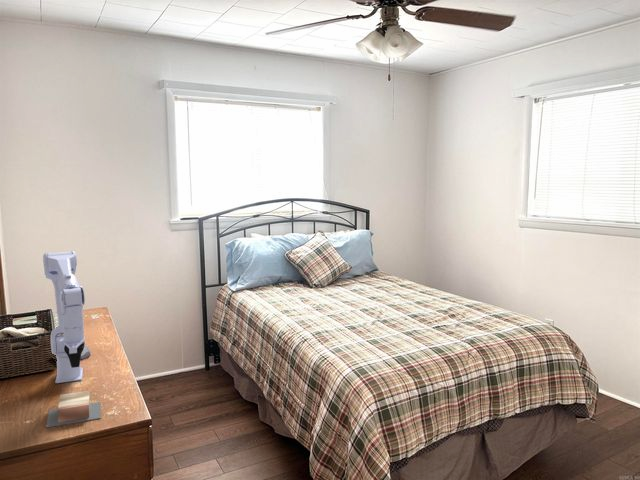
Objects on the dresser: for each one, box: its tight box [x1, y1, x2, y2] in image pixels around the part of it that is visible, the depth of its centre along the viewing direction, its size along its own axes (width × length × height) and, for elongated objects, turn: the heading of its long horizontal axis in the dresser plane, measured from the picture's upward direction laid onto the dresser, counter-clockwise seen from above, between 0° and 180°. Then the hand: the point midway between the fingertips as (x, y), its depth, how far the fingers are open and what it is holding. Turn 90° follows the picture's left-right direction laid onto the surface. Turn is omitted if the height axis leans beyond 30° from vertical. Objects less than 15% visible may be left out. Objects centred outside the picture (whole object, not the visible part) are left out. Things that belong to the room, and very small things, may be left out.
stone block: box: [80, 344, 92, 360], centre depth 181 cm, size 12×5×10 cm
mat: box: [45, 401, 102, 429], centre depth 141 cm, size 10×14×1 cm
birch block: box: [57, 390, 91, 422], centre depth 142 cm, size 4×8×9 cm
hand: (75, 366), depth 151 cm, fingers closed
